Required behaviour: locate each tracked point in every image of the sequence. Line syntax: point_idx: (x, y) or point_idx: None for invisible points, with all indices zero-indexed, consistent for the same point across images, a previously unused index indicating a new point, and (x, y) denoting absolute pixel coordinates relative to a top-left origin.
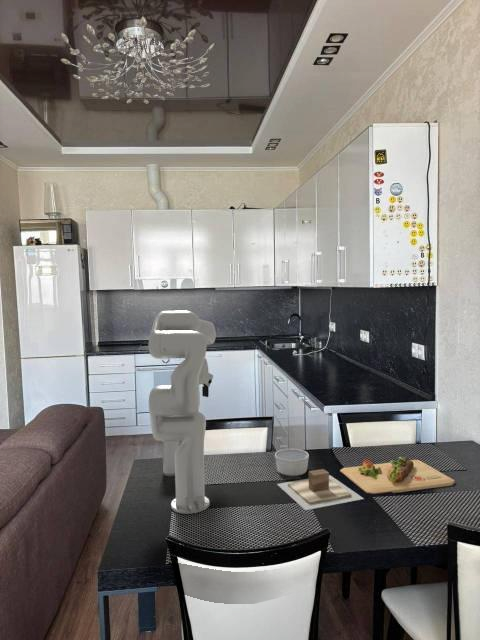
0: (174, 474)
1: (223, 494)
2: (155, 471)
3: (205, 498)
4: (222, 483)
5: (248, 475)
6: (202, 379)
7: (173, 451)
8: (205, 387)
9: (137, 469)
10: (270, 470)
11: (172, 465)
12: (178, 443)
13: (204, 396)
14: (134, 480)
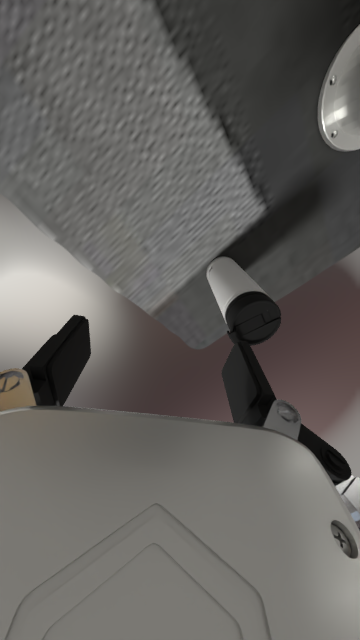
0: (230, 258)
1: (277, 44)
2: None
3: (344, 56)
4: (214, 115)
5: (127, 74)
6: (92, 487)
7: (246, 274)
8: (53, 381)
9: None
10: (44, 15)
11: (238, 265)
12: (231, 279)
13: (87, 341)
14: None
